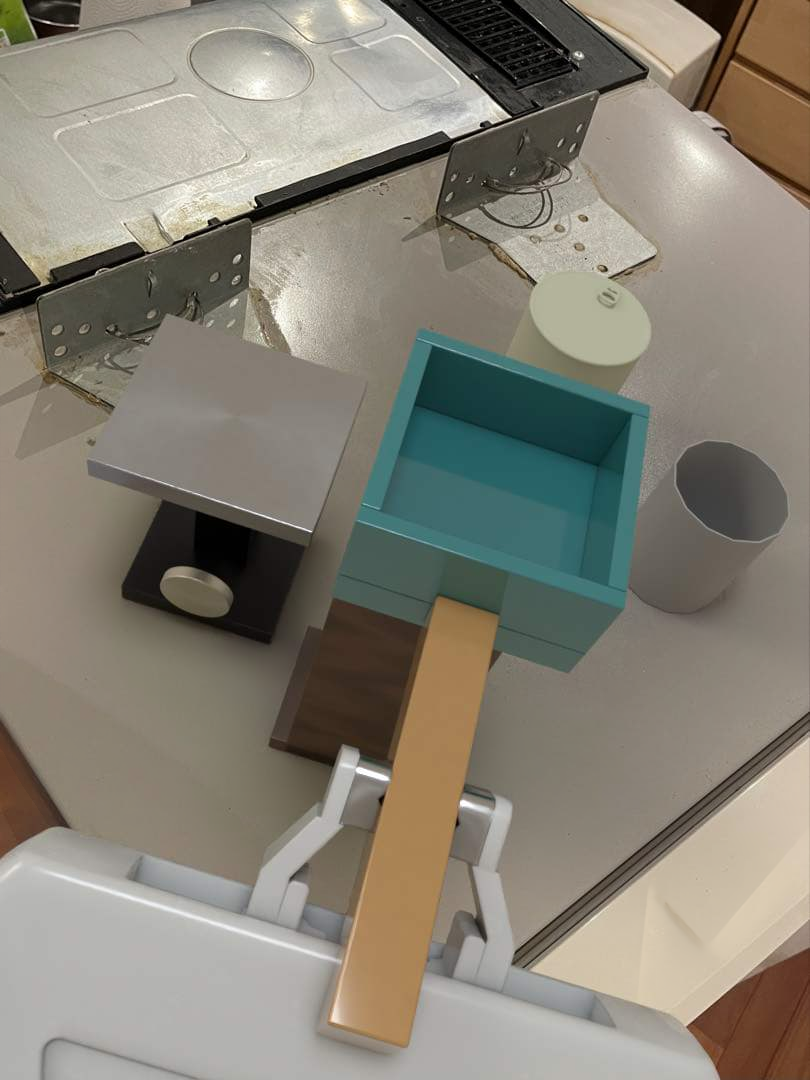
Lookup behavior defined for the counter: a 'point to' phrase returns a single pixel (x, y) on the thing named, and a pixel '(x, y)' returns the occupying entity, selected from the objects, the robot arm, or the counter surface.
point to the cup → (705, 525)
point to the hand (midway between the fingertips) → (425, 772)
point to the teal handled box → (470, 614)
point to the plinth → (348, 684)
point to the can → (582, 329)
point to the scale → (225, 471)
